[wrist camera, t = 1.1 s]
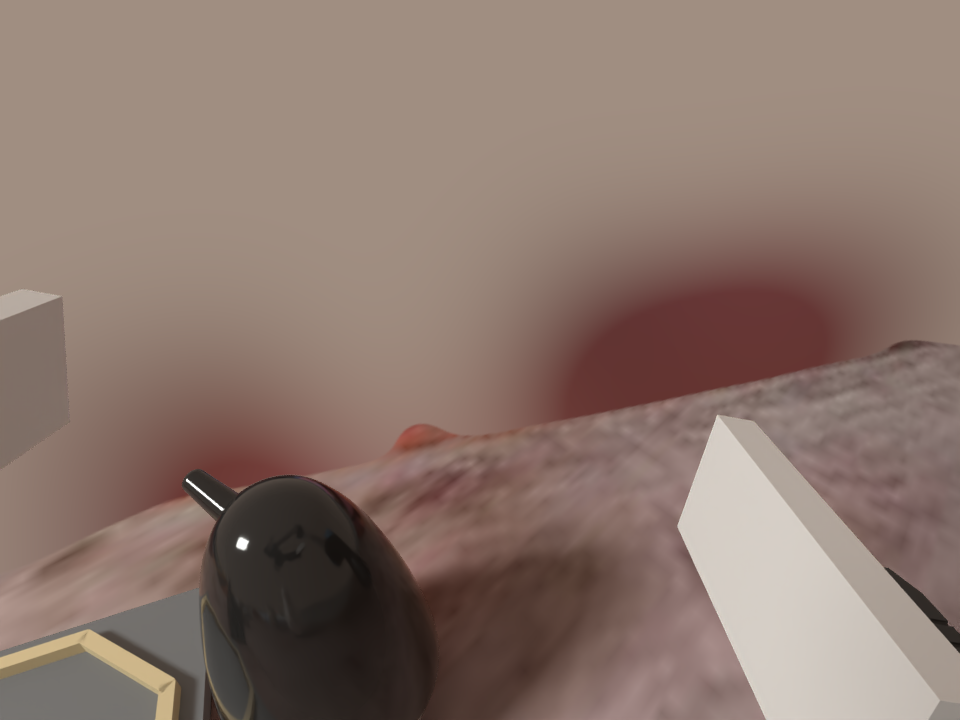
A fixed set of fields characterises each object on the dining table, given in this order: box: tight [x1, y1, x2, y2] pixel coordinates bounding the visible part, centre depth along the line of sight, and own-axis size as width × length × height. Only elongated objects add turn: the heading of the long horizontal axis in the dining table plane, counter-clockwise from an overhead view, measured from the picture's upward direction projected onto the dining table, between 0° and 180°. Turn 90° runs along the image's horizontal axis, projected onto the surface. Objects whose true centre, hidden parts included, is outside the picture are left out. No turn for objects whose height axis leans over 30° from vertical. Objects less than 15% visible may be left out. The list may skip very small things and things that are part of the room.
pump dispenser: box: [182, 469, 439, 720], centre depth 27 cm, size 10×10×15 cm
